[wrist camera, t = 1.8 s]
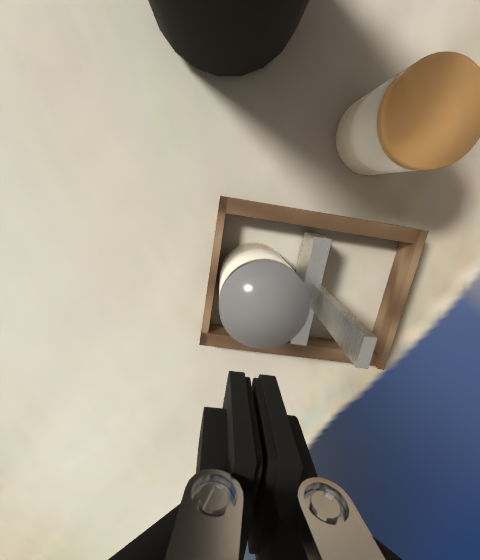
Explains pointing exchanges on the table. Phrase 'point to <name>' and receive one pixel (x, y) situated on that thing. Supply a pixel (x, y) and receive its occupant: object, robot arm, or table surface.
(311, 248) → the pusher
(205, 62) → the coffee jar
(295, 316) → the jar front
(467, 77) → the jar
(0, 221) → the table surface
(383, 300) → the brown wooden frame
